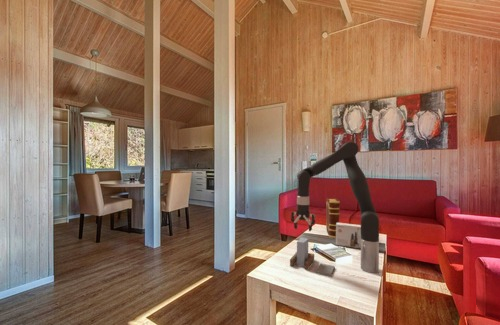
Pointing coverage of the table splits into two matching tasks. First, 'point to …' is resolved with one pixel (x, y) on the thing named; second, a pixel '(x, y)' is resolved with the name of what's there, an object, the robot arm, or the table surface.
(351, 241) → the skincare box
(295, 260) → the frame
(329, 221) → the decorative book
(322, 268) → the pad
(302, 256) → the block
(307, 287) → the table surface
